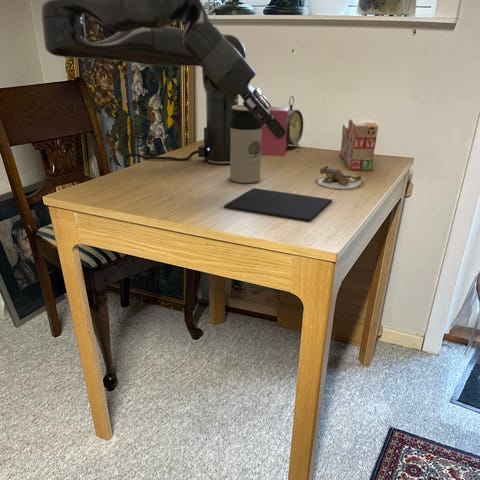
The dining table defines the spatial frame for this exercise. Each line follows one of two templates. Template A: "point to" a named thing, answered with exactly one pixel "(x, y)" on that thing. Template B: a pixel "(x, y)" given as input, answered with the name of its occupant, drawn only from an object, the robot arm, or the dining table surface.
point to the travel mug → (245, 146)
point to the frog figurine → (339, 179)
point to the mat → (279, 204)
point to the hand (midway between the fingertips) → (282, 133)
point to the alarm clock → (294, 126)
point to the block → (268, 139)
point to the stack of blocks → (359, 143)
